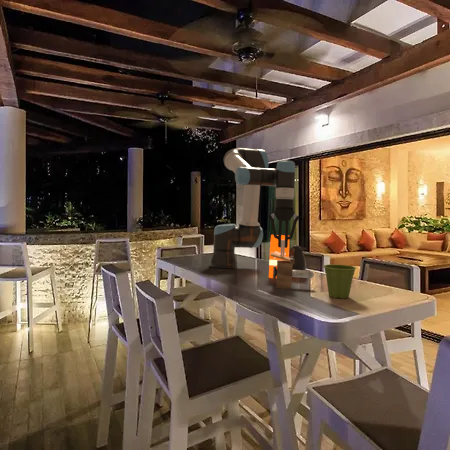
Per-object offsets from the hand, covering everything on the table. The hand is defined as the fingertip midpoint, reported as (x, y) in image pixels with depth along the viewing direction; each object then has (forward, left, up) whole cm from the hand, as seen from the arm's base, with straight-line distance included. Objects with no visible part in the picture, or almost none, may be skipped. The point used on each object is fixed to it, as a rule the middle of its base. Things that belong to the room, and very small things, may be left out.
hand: (282, 255), depth 149 cm
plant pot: (+13, +21, -13) cm, 28 cm away
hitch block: (0, +1, -13) cm, 13 cm away
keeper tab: (0, 0, -1) cm, 1 cm away
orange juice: (-21, -1, -13) cm, 25 cm away
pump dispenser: (-26, +7, -13) cm, 30 cm away
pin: (0, +5, -10) cm, 11 cm away
